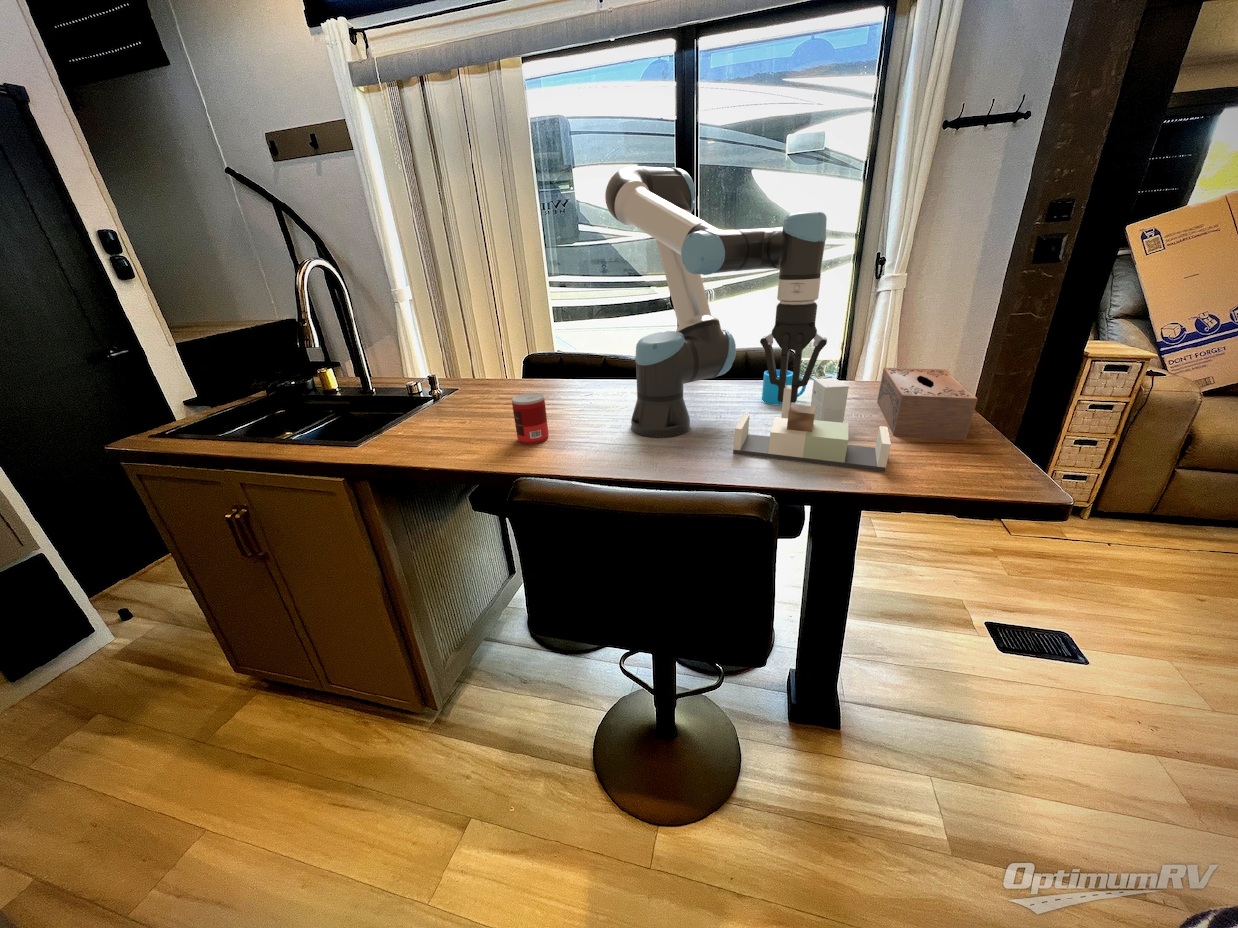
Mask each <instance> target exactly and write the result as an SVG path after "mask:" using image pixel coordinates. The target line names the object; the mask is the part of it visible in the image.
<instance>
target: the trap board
mask: <svg viewBox="0 0 1238 928" xmlns="http://www.w3.org/2000/svg"><path fill="white" fill-rule="evenodd" d="M750 417H751V416H750V413H748V414H747V413H742V415H741V417H740V418H739V420H738V422H737V424H736V426H735V427H734V432H733V433H734V434H733V436H734V437H733V455H742V456H751V457H759V458H767V459H774V460H775V459H776V460H783V461H791V462H801V463H805V464H806V463H808V464H815V465H816V464H817V465H824V466H832V467H833V466H834V467H840V468H848V469H854V470H855V469H857V470H866V471H872V472H881V473H886V469H887V465H888V459H889V457H890V456H889V455H890V451H891V445H892V443H891V438H890V437H891V436H890V434H889V429H888V427H889V426H883V425H879V427H878V430H877V431H878V432H877V437H876V440H875V447H873V446H872V447H871V446H863V445H853V444H849V422H843V423H840V422H829V421H818V420H814V423H813V428H812V432H807V431H797V430H787V422H788V419H786V418H781V416H776V417H775V419H774V422H773V424H772V427H771V430H770V434H769V436H768V435H767V436H766V435H759V434H749V429H750V427H749V426H750Z"/></svg>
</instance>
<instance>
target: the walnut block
mask: <svg viewBox="0 0 1238 928" xmlns="http://www.w3.org/2000/svg"><path fill="white" fill-rule="evenodd" d="M815 409H816V407H815V406H811V405H801V404H791V407H790V410H789V413H788V422H787V430H797V431H807V432H812V428H813V423H814V416H815Z"/></svg>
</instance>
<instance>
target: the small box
mask: <svg viewBox="0 0 1238 928" xmlns="http://www.w3.org/2000/svg"><path fill="white" fill-rule="evenodd" d="M812 384H813V385H812V390H811V391H812V392H811V400H810V406H815V407H816V409H815V416H814V420H818V421H829V422H840V423H844V419H845V415H846V414H845V413H846V406H847V399H848V394H849V393H848V392H849V388H850V387H849V386H848V385H847V384H845V383H844V382H842V381H841V380H839V379H837V378H835V377H834V378H833V377H831V378H830V377H829V378H814V379H813V383H812Z"/></svg>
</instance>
